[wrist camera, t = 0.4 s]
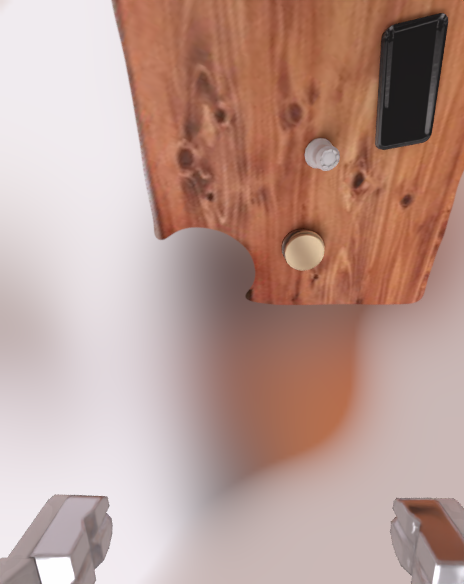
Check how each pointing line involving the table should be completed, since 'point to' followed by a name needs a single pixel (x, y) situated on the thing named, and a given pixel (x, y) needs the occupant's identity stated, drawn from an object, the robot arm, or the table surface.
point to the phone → (409, 80)
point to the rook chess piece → (322, 154)
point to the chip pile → (303, 249)
